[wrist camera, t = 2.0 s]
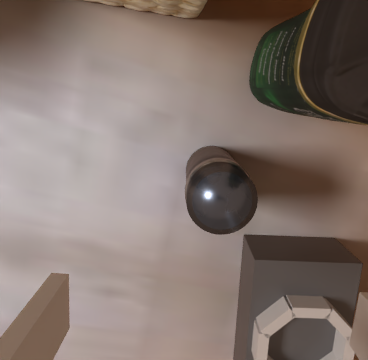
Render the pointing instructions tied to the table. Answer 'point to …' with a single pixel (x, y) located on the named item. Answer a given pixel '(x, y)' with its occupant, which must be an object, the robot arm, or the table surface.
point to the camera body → (296, 299)
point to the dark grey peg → (218, 191)
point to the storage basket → (161, 6)
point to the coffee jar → (316, 63)
